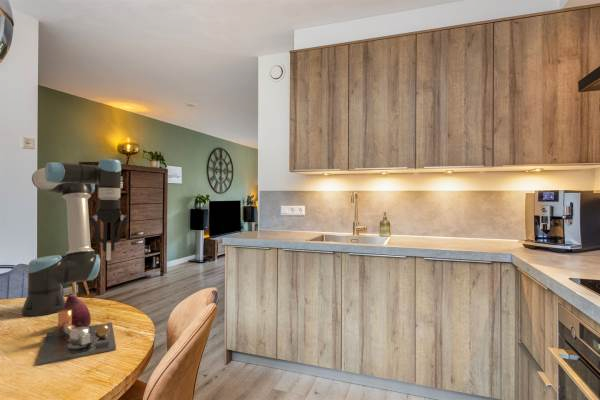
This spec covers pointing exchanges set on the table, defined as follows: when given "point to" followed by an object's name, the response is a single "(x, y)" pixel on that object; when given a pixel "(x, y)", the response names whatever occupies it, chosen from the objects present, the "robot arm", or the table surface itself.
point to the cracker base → (61, 348)
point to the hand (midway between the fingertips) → (108, 259)
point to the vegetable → (77, 311)
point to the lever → (72, 328)
